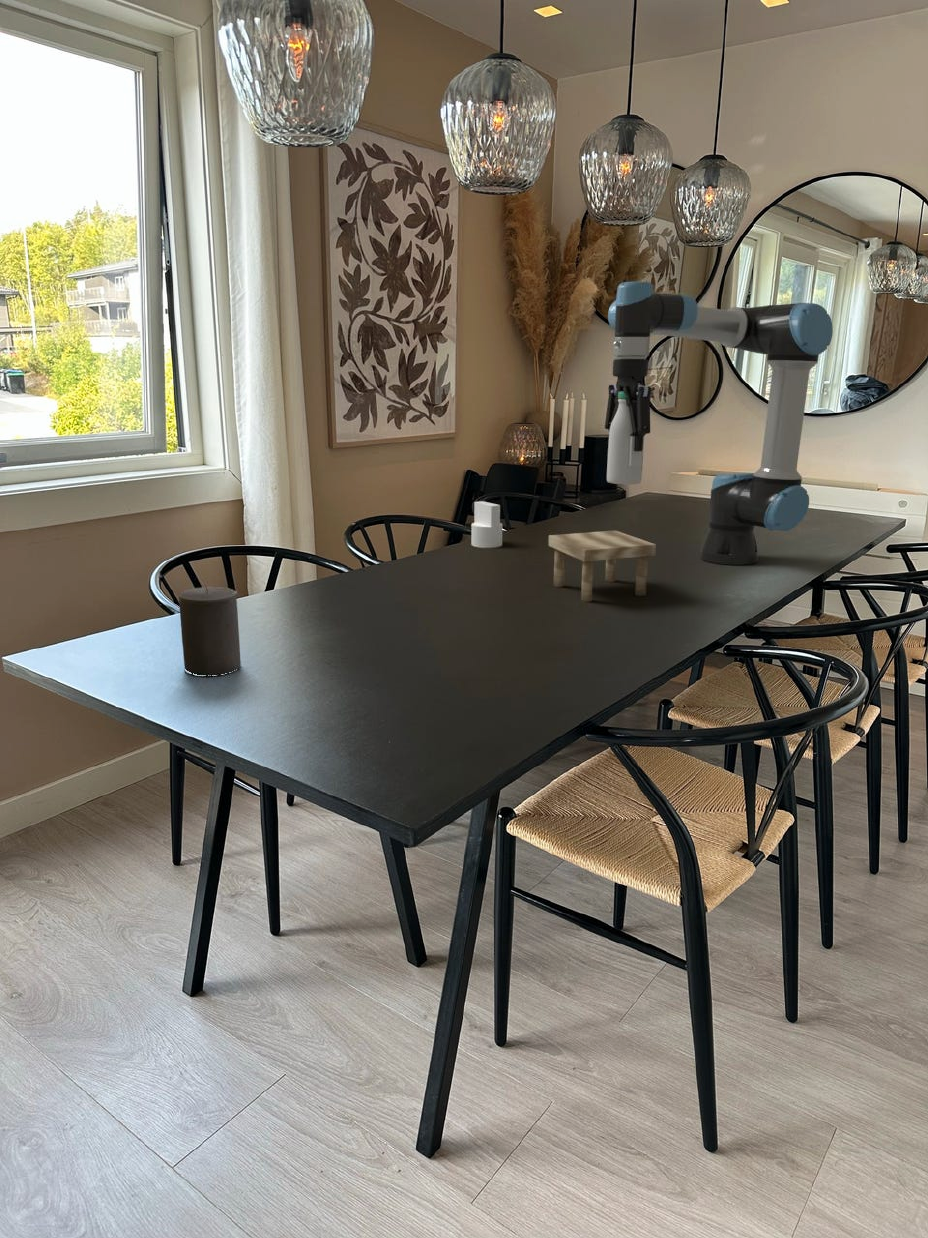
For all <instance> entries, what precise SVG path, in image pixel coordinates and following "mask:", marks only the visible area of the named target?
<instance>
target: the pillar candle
mask: <svg viewBox="0 0 928 1238" xmlns="http://www.w3.org/2000/svg"><path fill="white" fill-rule="evenodd" d="M237 594H238V591H236V590H234V589H231V588H228V587H219V586H218V587H217V586H215V587H214V586H207V585H205V586H204V587H194V588H191V589H185V590H183V591H181V592H180V593H179V596H178V600H179V601H178V602H179V617H180V629H181V643H182V651H183V652H182V653H183V665H184V670H185V669H186V670H187V671H189V672H191V673H192V674H193V673H194V674H197V675H206V676H208V675H211V676H212V675H221V674H225V673H229V672H232V671H234V670H236V669H238V668H239V667H240V665H242V662H241V648H240V633H239V631H240V630H239V629H240V628H239V615H238V613H239V612H238V600H237V599H238V598H237V597H238V596H237ZM240 668H241V667H240ZM240 668H239V669H240ZM239 669H238V670H239Z"/></svg>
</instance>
